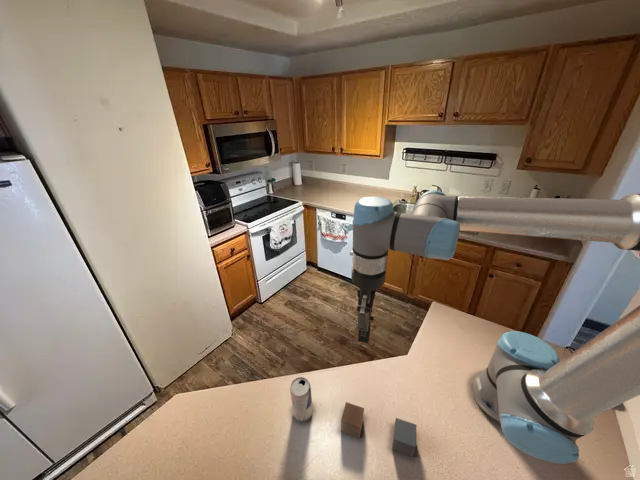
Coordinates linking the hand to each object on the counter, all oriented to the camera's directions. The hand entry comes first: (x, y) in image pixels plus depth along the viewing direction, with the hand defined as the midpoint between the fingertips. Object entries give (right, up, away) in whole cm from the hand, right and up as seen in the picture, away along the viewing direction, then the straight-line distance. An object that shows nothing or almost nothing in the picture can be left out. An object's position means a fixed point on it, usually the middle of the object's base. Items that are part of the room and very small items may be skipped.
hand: (363, 340), depth 68 cm
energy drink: (-16, -22, +4) cm, 28 cm away
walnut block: (-3, -23, +1) cm, 23 cm away
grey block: (+9, -25, -3) cm, 27 cm away
